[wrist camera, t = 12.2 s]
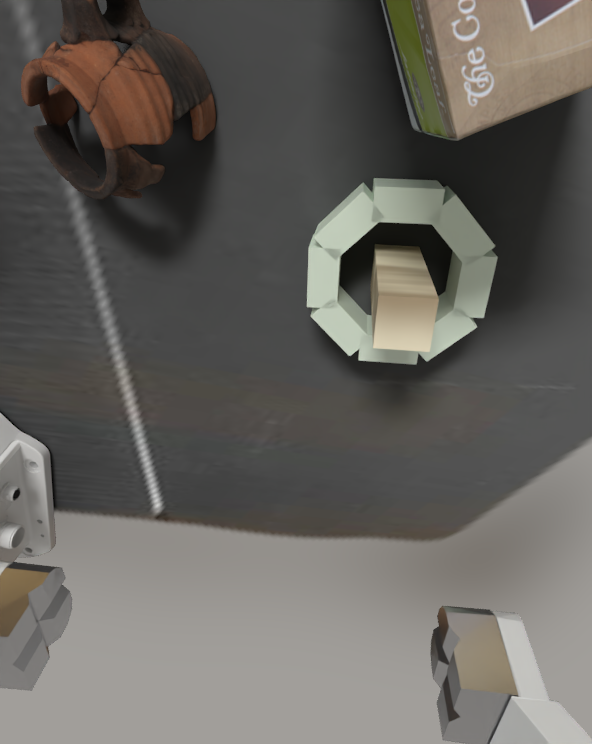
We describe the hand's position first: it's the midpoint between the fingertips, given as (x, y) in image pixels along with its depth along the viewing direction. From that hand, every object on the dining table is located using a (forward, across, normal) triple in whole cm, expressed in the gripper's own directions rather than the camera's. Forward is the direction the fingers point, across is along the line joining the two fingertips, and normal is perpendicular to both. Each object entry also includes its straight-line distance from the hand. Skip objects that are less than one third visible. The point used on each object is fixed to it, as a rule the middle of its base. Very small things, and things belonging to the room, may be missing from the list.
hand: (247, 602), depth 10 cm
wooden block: (+27, -6, 0) cm, 27 cm away
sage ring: (+27, -6, 0) cm, 27 cm away
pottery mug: (+28, +12, -10) cm, 32 cm away
